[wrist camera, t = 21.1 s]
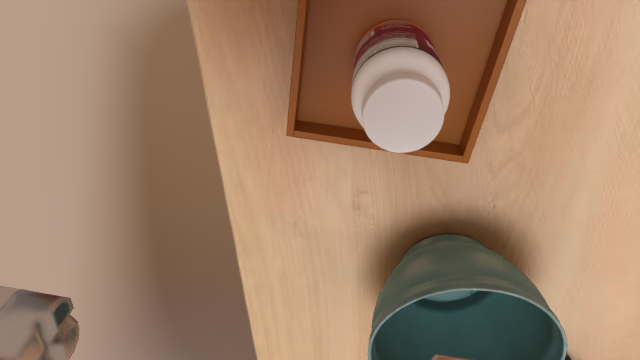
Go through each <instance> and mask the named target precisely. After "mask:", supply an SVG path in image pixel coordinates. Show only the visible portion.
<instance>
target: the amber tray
mask: <svg viewBox="0 0 640 360" xmlns="http://www.w3.org/2000/svg"><path fill="white" fill-rule="evenodd" d="M525 3H526V0H299V2H298V13H297V24H296V35H295V46H294V57H293V67H292V78H291V89H290V100H289V111H288V122H287V133H286V135H287V136H292V137H293V136H294V137H298V138H304V139H311V140H317V141H324V142H330V143H337V144H344V145H350V146H357V147H363V148H370V149H376V150H383V151H387V150H384V149H382V148H380V147H379V146H377V145H376V144H374V143H373V142H372V141H371V140H370V138H369V137H368V136H367V134H366V132H365V130H364V128H363V127H362V126H361V124H360V123H359V121H358V120H357V118H356V116H355V114H354V111H353V108H352V101H351V90H352V78H353V65H354V56H355V52H356V49H357V46H358V44H359V42H360V40H361V39H362V38H363V36H364V35H365V34H366V33H367V32H368V31H369V30H370V29H372V28H373V27H375V26H376V25H378V24H380V23H383V22H386V21H391V20H403V21H408V22H411V23H413V24H415V25H417V26H419V27H420V28H421V29H422V30H424V31H425V32H426V34H427V35H428V36H429V37H430V39H431V41H432V43H433V45H434V48H435V50H436V52H437V54H438V56H439V59H440V61H441V63H442V66H443V68H444V71H445V73H446V75H447V78H448V82H449V87H450V100H449V105H448V108H447V111H446V113H445V115H444V121H443V125H442V127H441V130H440V131H439V133H438V135H437V136H436V137H435V138H434V139H433V140H432V141H431V142H430V143H429V144H428V145H426V146H424V147H423V148H421V149H418V150H416V151H412V152H407V153H403V154H409V155H416V156H422V157H429V158H435V159H442V160H448V161H455V162H462V163H468V162H469V159H470V157H471V154H472V151H473V148H474V145H475V143H476V140H477V137H478V134H479V131H480V129H481V126H482V123H483V120H484V117H485V115H486V112H487V109H488V106H489V103H490V101H491V98H492V95H493V92H494V89H495V87H496V84H497V81H498V78H499V76H500V73H501V70H502V67H503V64H504V62H505V59H506V56H507V53H508V50H509V48H510V45H511V42H512V39H513V36H514V34H515V31H516V28H517V25H518V22H519V20H520V17H521V14H522V11H523V8H524V6H525ZM389 152H390V151H389Z"/></svg>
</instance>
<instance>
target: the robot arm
mask: <svg viewBox="0 0 640 360" xmlns="http://www.w3.org/2000/svg"><path fill="white" fill-rule="evenodd" d="M73 308H74V307H73V304H72V301H71V298H67V297H61V296H56V295H50V294H45V293H39V292H33V291H28V290H22V289H16V288H10V287H4V286H0V360H69V359H70V358H71V356H72V354H73V352H74V350H75V348H76V344H77V342H78V339H79V326H78V321H76V320H75V319H74V318H73V317H72V316H71V315H70V313H71V311H72V310H73ZM432 360H474V359H466V358H459V357H452V356H445V355H438V354H436V355H435V356H433V358H432Z"/></svg>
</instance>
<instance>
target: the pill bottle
mask: <svg viewBox="0 0 640 360" xmlns="http://www.w3.org/2000/svg"><path fill="white" fill-rule="evenodd" d="M449 100H450V87H449V82H448V78H447V75H446V73H445V71H444V68H443V66H442V63H441V61H440V59H439V56H438V54H437V52H436V50H435V48H434V45H433V43H432V41H431V39H430V37H429V36H428V35H427V34H426V32H425V31H424V30H422V29H421V28H420V27H419V26H417V25H415V24H413V23H411V22H408V21H403V20H391V21H386V22H383V23H380V24H378V25H376V26H375V27H373V28H372V29H370V30H369V31H368V32H367V33H366V34H365V35H364V36H363V38H362V39H361V40H360V42H359V44H358V46H357V49H356V52H355V56H354V65H353V78H352V90H351V101H352V108H353V111H354V114H355V116H356V118H357V120H358V121H359V123H360V124H361V126H362V127H363V128H364V130H365V132H366V134H367V136H368V137H369V138H370V140H371V141H372V142H373V143H374V144H376V145H377V146H379V147H380V148H382V149H384V150H387V151H390V152H396V153H407V152H412V151H416V150H418V149H421V148H423V147H424V146H426V145H428V144H429V143H430V142H431V141H432V140H433V139H434V138H435V137H436V136H437V135H438V133H439V131H440V130H441V127H442V125H443V121H444V115H445V113H446V111H447V108H448V105H449Z"/></svg>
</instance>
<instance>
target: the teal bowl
mask: <svg viewBox="0 0 640 360" xmlns="http://www.w3.org/2000/svg"><path fill="white" fill-rule="evenodd" d="M566 353H567V339H566V335H565V332H564V330H563V328H562V326H561V324H560V322H559V320H558V318H557V317H556V315H555V314H554V313H553V312H552V310H551V309H550V308H549V306H548V305H547V303H546V301H545V299H544V298H543V296H542V295H541V293H540V292H539V290H538V289H537V288H536V286H535V285H534V284H533V283H532V282H531V281H530V279H529V278H528V277H527V276H526V275H525V274H524V273H523V272H522V271H520V270H519V269H518V268H517V267H516V266H515V265H514V264H512V263H511V262H510V261H508V260H507V259H506V258H504V257H502V256H501V255H499V254H497V253H496V252H494V251H492V250H489V249H487V248H485V247H484V246H483V245H482V244H481V243H479V242H478V241H476V240H474V239H472V238H469V237H466V236H462V235H455V234H443V235H436V236H432V237H429V238H426V239H424V240H422V241H420V242H418V243H416V244H415V245H414V246H412V247H411V248H410V249H409V250H408V251H407V252H406V254H405V255H404V257H403V258H402V260H401V262H400V263H399V264H398V265H397V266H396V268H395V269H394V270H393V271H392V273H391V274H390V275H389V277H388V279H387V280H386V282H385V284H384V286H383V288H382V290H381V292H380V294H379V297H378V299H377V303H376V306H375V310H374V314H373V320H372V332H371V335H370V339H369V346H368V360H432V358H433V356H435V355H436V354H438V355H445V356H452V357H459V358H466V359H474V360H565V357H566Z"/></svg>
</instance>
